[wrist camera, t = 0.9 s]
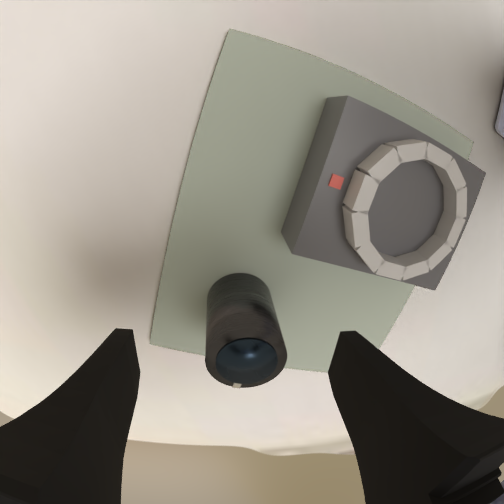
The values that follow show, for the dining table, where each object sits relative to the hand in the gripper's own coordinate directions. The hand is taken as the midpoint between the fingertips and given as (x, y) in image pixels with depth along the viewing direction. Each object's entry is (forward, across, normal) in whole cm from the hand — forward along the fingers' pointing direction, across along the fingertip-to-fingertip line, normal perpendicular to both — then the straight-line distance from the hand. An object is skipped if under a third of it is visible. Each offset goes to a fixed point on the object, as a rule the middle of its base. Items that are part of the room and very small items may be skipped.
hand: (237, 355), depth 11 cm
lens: (+9, -1, +3) cm, 9 cm away
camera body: (+9, -9, -4) cm, 13 cm away
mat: (+9, -5, -1) cm, 11 cm away
